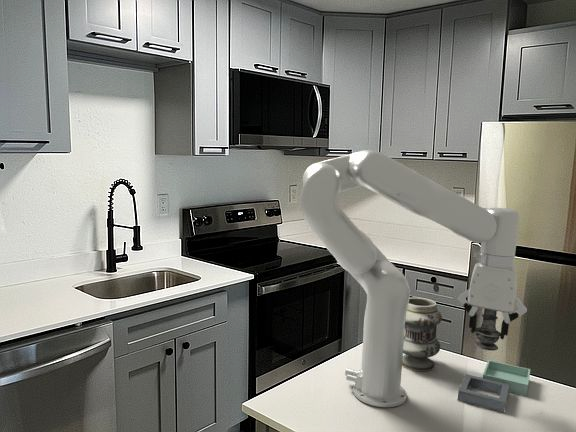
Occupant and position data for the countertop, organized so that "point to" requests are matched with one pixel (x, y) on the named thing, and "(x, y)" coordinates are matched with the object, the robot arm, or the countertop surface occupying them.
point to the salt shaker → (488, 331)
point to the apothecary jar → (420, 334)
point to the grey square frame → (483, 399)
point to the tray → (508, 376)
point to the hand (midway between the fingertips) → (487, 333)
